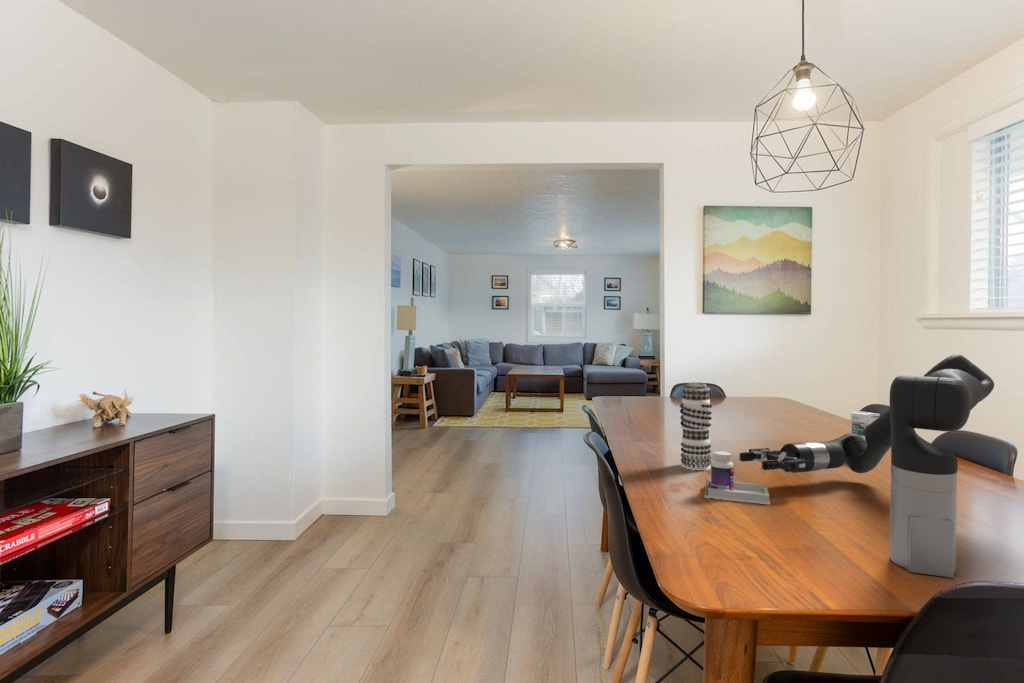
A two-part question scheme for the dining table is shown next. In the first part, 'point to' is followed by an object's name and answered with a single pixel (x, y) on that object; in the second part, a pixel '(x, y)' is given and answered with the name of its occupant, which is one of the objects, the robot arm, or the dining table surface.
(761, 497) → the white rimmed tray
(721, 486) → the pill bottle
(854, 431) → the syrup box
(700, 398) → the decorative candle
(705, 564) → the dining table surface
